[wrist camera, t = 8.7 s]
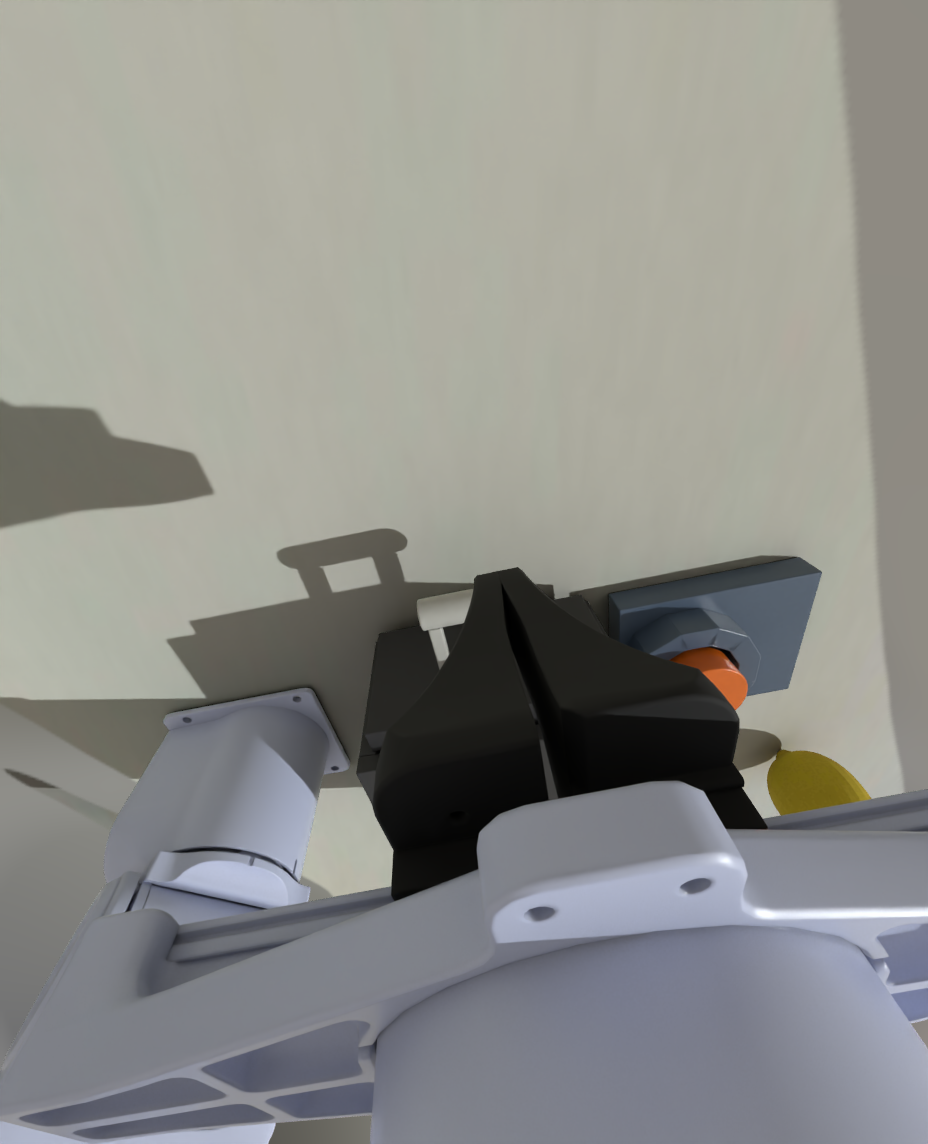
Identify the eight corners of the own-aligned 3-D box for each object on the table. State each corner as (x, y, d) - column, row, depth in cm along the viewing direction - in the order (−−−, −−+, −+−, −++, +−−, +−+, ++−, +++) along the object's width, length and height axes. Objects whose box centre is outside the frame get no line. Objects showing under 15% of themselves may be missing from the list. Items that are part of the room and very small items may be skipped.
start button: (649, 709, 26) (663, 734, 24) (652, 654, 24) (668, 677, 22) (723, 695, 26) (741, 719, 24) (734, 639, 24) (755, 661, 22)
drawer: (355, 571, 22) (331, 664, 16) (578, 527, 22) (633, 606, 16) (431, 777, 31) (432, 884, 25) (589, 748, 31) (627, 850, 25)
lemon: (760, 729, 33) (849, 839, 26) (829, 726, 33) (934, 834, 26) (734, 774, 35) (808, 885, 29) (798, 772, 36) (885, 880, 29)
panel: (607, 700, 30) (627, 744, 27) (605, 593, 25) (630, 632, 22) (770, 670, 29) (809, 711, 26) (799, 556, 25) (851, 590, 22)
